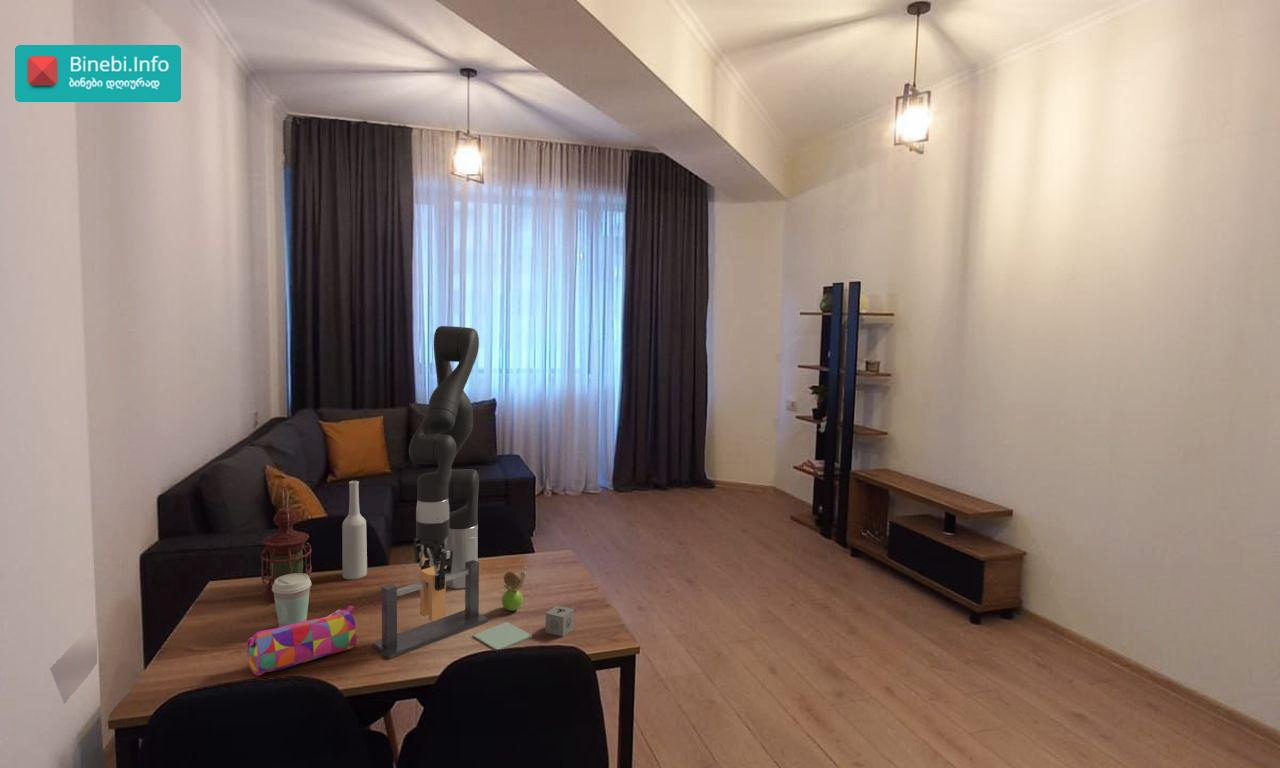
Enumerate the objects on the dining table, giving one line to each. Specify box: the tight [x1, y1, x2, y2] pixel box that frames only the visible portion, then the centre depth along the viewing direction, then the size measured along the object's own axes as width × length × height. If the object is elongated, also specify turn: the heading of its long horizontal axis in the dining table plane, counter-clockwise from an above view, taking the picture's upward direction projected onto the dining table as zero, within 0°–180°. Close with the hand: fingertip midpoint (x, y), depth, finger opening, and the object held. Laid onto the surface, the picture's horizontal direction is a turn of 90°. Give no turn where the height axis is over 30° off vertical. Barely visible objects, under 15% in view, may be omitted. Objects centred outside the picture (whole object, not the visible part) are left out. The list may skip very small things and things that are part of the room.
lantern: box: [259, 484, 313, 603], centre depth 177 cm, size 12×12×30 cm
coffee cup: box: [272, 573, 312, 628], centre depth 160 cm, size 8×8×12 cm
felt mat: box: [472, 621, 533, 651], centre depth 159 cm, size 10×10×1 cm
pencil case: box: [246, 605, 358, 677], centre depth 146 cm, size 22×9×9 cm, turn 136°
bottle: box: [341, 480, 368, 580], centre depth 192 cm, size 7×7×28 cm
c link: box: [419, 566, 447, 622], centre depth 158 cm, size 5×4×11 cm, turn 48°
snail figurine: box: [501, 566, 527, 612], centre depth 173 cm, size 5×6×12 cm
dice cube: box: [545, 605, 575, 638], centre depth 163 cm, size 5×5×5 cm
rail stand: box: [372, 560, 489, 660], centre depth 158 cm, size 8×26×15 cm, turn 138°
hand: (432, 585), depth 158 cm, fingers open, 5 cm apart
